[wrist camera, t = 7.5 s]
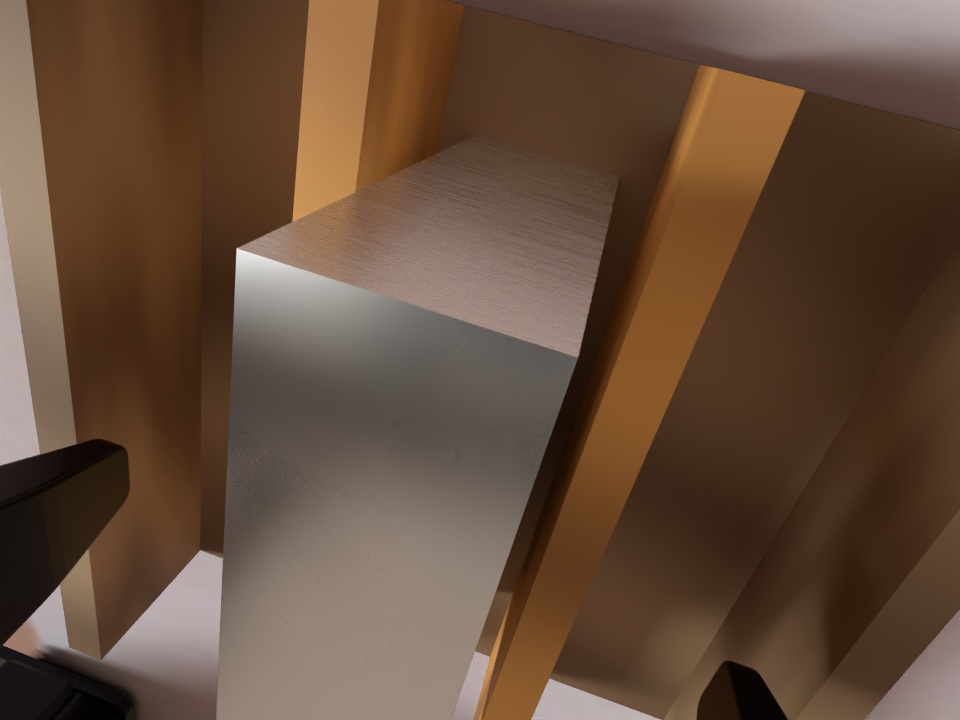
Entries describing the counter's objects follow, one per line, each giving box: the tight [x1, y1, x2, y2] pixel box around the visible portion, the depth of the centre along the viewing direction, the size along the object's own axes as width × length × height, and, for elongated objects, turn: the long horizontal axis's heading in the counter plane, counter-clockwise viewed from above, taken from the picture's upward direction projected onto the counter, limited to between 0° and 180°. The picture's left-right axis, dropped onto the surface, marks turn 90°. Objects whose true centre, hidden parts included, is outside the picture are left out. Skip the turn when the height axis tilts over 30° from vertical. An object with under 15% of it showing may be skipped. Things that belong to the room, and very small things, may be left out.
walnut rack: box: [0, 0, 960, 720], centre depth 12 cm, size 14×14×4 cm
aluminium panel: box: [216, 135, 619, 720], centre depth 10 cm, size 10×2×7 cm, turn 167°
